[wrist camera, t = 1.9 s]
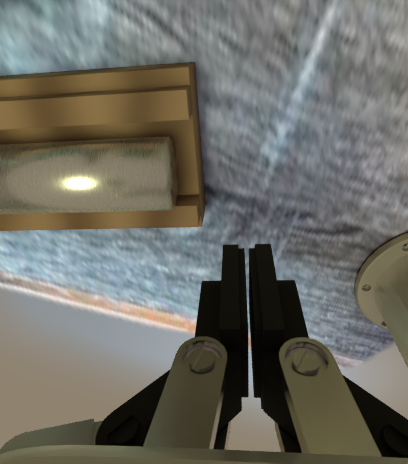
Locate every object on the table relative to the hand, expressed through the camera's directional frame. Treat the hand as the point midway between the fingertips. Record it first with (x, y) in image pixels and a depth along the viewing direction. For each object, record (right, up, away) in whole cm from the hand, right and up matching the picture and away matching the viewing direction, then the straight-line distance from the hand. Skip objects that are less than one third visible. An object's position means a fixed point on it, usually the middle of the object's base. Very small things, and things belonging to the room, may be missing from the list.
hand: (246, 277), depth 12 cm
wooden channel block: (-11, +9, +17) cm, 22 cm away
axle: (-11, +7, +14) cm, 19 cm away
